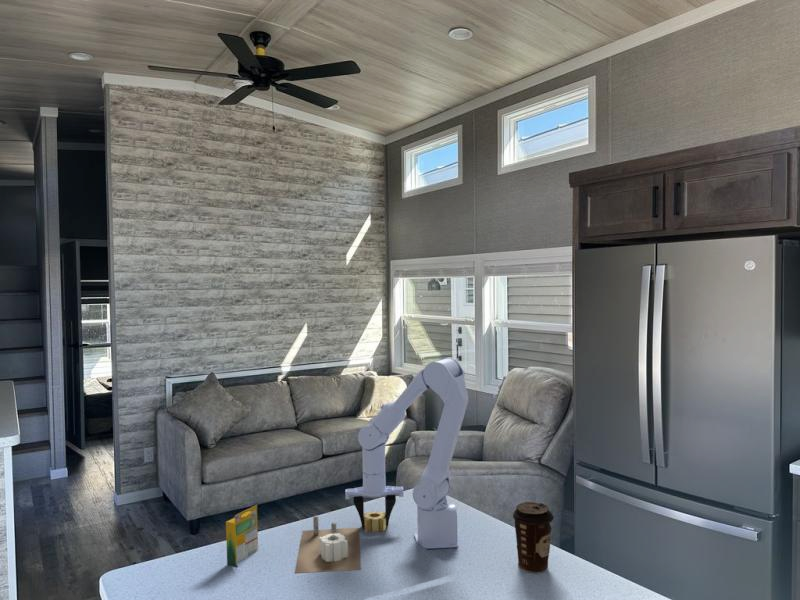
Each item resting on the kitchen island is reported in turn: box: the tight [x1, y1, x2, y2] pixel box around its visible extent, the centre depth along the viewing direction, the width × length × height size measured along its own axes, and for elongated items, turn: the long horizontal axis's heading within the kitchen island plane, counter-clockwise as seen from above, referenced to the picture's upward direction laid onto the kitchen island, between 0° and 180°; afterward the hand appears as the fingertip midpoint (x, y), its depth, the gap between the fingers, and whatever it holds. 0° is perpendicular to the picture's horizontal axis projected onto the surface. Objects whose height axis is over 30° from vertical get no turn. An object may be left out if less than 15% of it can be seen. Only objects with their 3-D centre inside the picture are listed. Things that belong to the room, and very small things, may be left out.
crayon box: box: [225, 504, 259, 568], centre depth 133 cm, size 7×3×12 cm, turn 152°
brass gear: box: [364, 510, 387, 533], centre depth 148 cm, size 5×5×4 cm
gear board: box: [294, 515, 362, 574], centre depth 136 cm, size 14×22×6 cm, turn 5°
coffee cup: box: [512, 501, 554, 574], centre depth 128 cm, size 9×8×13 cm
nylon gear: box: [319, 533, 348, 562], centre depth 132 cm, size 5×5×4 cm
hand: (374, 525), depth 148 cm, fingers open, 5 cm apart
